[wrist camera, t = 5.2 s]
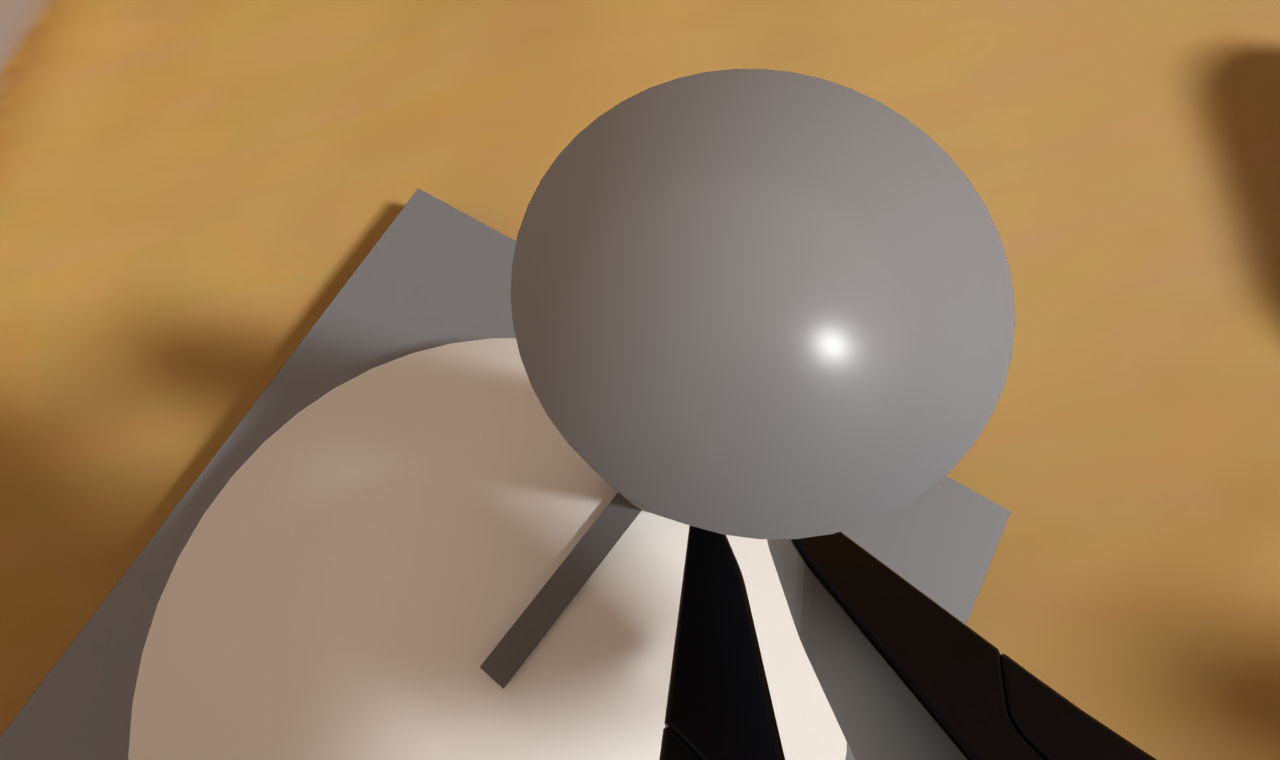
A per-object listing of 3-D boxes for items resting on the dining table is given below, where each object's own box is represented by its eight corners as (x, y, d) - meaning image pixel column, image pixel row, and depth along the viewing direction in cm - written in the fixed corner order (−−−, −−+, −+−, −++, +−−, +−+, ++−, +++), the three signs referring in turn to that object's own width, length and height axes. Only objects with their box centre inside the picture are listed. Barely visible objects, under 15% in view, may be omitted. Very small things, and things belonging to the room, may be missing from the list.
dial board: (651, 1305, 13) (653, 1419, 12) (-2, 795, 16) (-77, 829, 14) (979, 511, 18) (1015, 511, 16) (433, 211, 20) (416, 184, 18)
